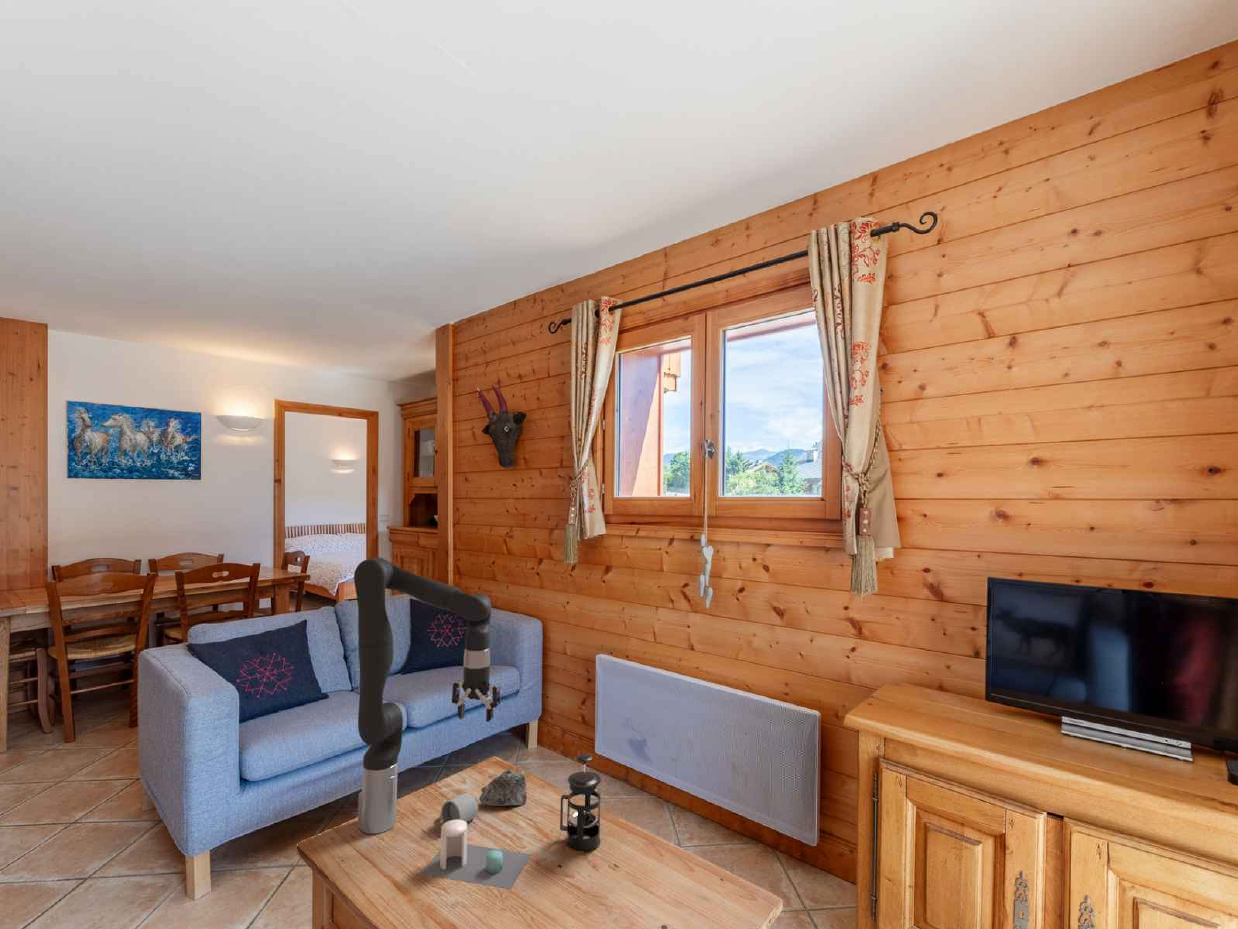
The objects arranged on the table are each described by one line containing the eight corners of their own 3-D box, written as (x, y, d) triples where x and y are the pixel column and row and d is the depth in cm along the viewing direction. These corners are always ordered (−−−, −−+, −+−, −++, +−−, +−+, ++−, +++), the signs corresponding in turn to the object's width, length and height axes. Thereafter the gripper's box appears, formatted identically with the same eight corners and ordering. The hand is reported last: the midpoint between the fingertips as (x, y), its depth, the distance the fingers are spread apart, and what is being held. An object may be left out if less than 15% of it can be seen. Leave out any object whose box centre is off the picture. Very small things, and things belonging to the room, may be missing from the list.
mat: (419, 875, 147) (419, 873, 147) (447, 842, 161) (447, 841, 161) (511, 891, 142) (511, 889, 142) (531, 855, 156) (531, 854, 156)
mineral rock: (477, 807, 179) (478, 773, 179) (494, 790, 189) (495, 758, 190) (516, 815, 175) (517, 780, 176) (531, 797, 186) (532, 764, 186)
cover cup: (435, 868, 149) (436, 831, 150) (447, 853, 156) (448, 818, 156) (459, 872, 148) (460, 835, 149) (470, 857, 154) (471, 821, 155)
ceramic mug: (480, 820, 172) (480, 793, 173) (459, 834, 165) (459, 805, 166) (454, 810, 178) (454, 783, 178) (432, 823, 171) (433, 795, 171)
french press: (605, 834, 166) (607, 750, 167) (599, 855, 157) (600, 766, 158) (564, 830, 168) (566, 747, 169) (556, 850, 159) (557, 762, 160)
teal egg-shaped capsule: (483, 873, 148) (483, 858, 148) (490, 863, 152) (490, 849, 152) (498, 875, 147) (498, 861, 147) (504, 865, 151) (505, 851, 151)
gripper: (448, 665, 173) (446, 722, 172) (494, 669, 170) (492, 727, 169) (460, 658, 180) (459, 712, 180) (504, 662, 177) (503, 717, 177)
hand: (475, 719), depth 175 cm, fingers open, 8 cm apart
